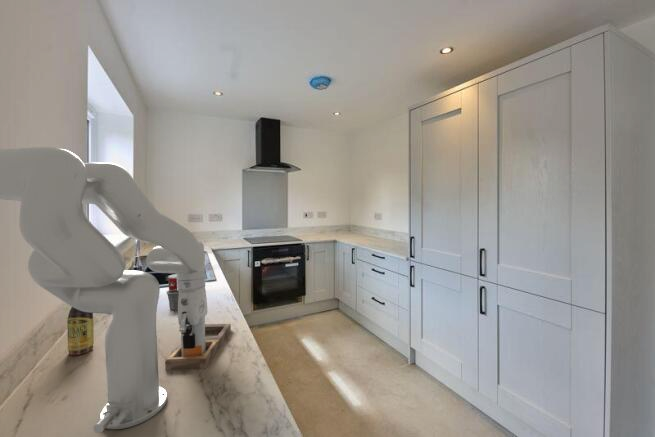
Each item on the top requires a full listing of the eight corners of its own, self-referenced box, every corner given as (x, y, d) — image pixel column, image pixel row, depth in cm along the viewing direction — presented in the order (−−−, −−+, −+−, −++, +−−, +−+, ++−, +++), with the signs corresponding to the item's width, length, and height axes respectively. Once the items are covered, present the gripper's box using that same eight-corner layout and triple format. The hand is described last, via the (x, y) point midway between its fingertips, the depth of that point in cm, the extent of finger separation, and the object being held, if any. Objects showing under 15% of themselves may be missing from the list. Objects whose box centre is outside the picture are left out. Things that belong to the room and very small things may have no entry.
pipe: (188, 313, 122) (187, 294, 121) (163, 310, 125) (162, 292, 124) (198, 307, 128) (197, 290, 127) (173, 305, 131) (172, 288, 130)
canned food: (169, 296, 144) (168, 274, 143) (187, 293, 147) (186, 272, 146) (168, 300, 137) (167, 278, 136) (187, 298, 140) (186, 276, 139)
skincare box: (181, 360, 83) (179, 320, 83) (184, 353, 87) (183, 314, 87) (203, 357, 85) (202, 317, 84) (206, 350, 89) (204, 312, 88)
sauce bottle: (63, 357, 87) (58, 293, 86) (76, 347, 93) (72, 287, 92) (87, 355, 88) (83, 291, 87) (99, 345, 94) (96, 286, 93)
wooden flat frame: (205, 368, 81) (205, 359, 80) (165, 370, 80) (165, 360, 80) (230, 330, 104) (230, 322, 104) (200, 331, 104) (199, 323, 104)
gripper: (191, 292, 77) (194, 358, 78) (214, 275, 94) (216, 330, 95) (163, 292, 76) (165, 359, 77) (191, 276, 93) (193, 330, 94)
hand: (193, 342), depth 86 cm, fingers open, 5 cm apart
